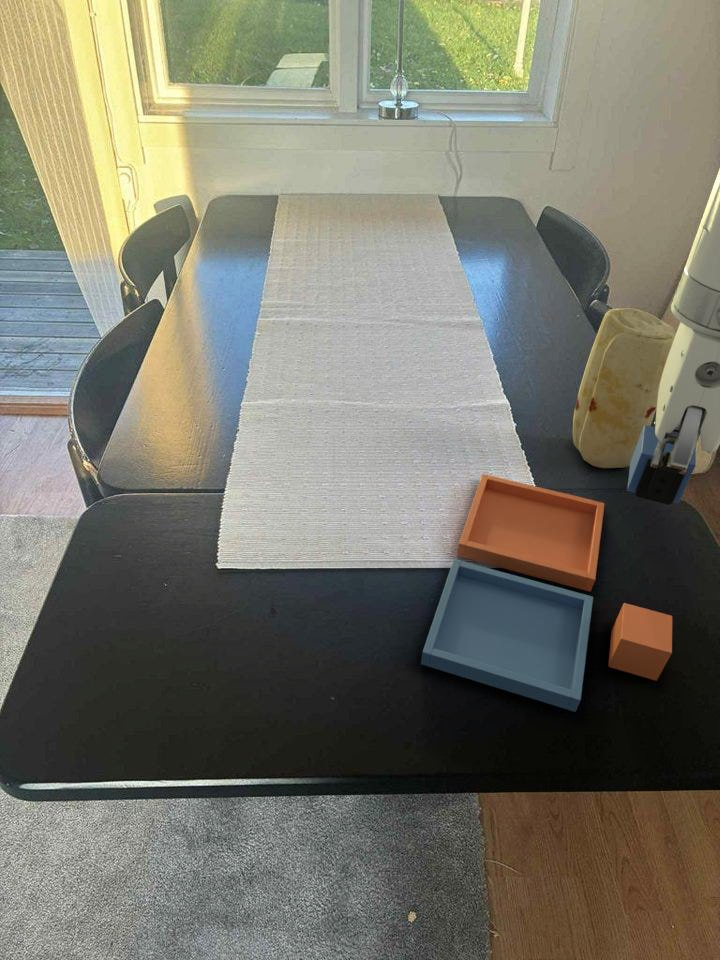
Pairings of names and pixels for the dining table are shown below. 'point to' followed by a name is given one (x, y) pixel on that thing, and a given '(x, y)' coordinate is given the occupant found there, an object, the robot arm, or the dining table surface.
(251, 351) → the dining table surface
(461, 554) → the terracotta tray
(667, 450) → the blue block
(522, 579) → the blue tray
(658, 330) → the food model
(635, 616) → the terracotta block
